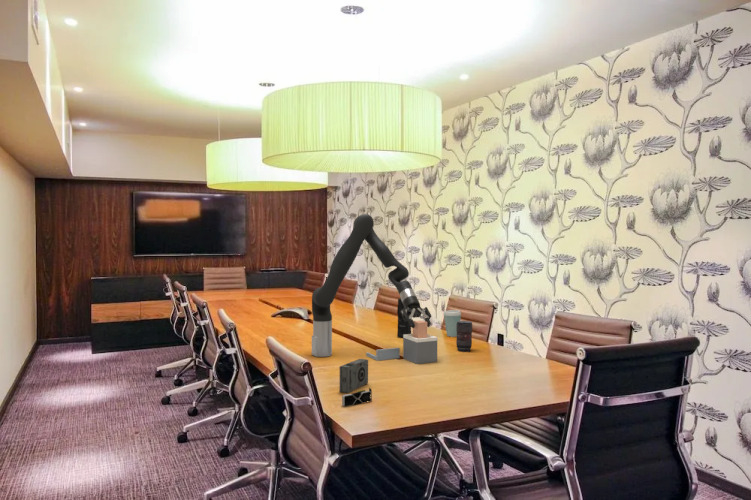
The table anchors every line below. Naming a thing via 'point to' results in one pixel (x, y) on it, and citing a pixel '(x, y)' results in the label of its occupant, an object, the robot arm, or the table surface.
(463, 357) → the table surface
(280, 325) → the table surface
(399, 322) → the portable radio
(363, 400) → the graphics card
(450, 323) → the disposable coffee cup
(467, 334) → the camera lens
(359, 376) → the camera
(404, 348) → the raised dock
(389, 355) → the low dock
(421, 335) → the plug block
